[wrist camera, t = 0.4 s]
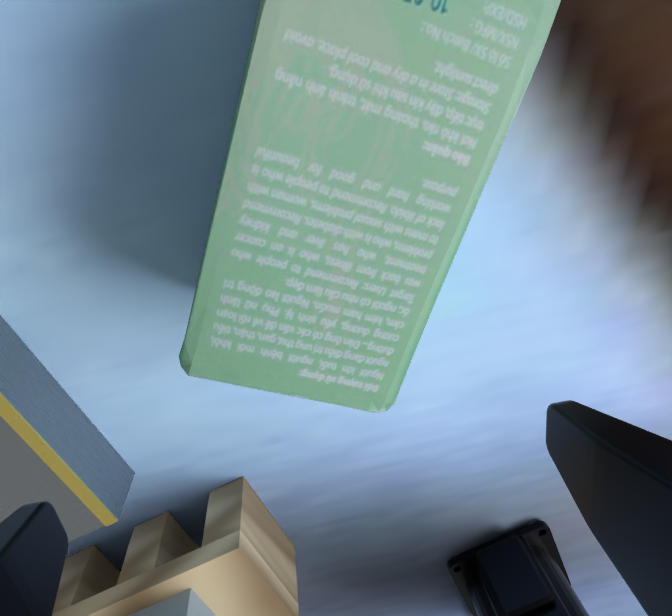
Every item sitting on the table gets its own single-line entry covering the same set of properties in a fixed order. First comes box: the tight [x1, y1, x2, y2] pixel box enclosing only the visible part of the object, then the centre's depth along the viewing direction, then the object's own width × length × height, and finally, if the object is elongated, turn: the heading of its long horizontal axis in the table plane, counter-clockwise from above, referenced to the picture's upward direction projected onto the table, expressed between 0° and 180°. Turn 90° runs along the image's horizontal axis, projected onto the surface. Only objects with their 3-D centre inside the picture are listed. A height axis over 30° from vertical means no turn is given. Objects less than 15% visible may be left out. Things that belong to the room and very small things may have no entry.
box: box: [179, 0, 561, 413], centre depth 17 cm, size 7×14×8 cm, turn 163°
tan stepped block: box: [52, 476, 299, 616], centre depth 26 cm, size 11×6×4 cm, turn 115°
